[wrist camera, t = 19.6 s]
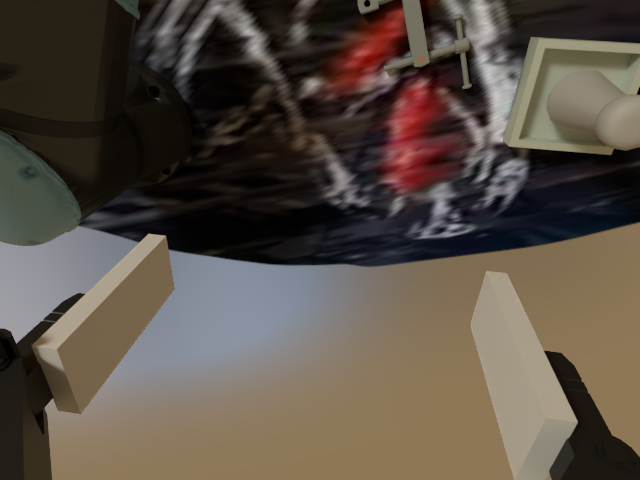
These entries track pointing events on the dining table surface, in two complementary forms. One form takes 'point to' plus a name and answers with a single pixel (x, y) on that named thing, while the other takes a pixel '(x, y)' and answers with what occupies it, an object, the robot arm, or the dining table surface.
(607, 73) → the tray
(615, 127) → the salt shaker
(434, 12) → the dining table surface
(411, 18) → the clamp
